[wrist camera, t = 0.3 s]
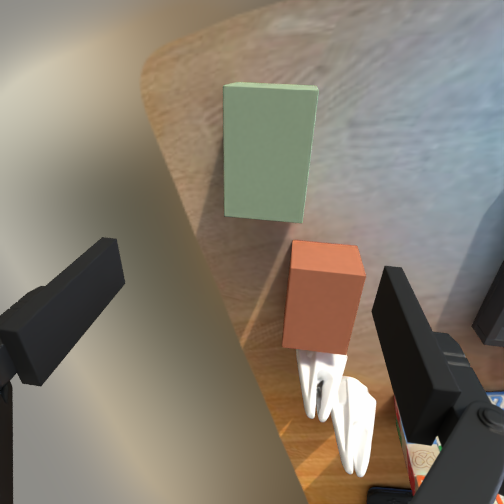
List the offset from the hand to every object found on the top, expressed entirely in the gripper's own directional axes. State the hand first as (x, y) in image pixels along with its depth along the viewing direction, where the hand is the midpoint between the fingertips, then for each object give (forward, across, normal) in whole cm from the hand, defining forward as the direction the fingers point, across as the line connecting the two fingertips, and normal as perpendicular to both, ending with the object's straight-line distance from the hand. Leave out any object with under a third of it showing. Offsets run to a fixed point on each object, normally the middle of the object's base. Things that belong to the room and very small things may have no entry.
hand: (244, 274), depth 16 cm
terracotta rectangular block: (+14, +6, -10) cm, 18 cm away
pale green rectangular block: (+14, 0, +3) cm, 15 cm away
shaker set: (+14, +9, -21) cm, 27 cm away
